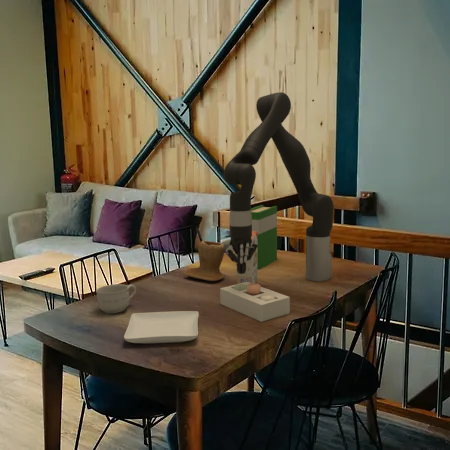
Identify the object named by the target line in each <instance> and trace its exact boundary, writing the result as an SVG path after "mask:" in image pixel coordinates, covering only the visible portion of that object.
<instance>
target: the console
mask: <svg viewBox="0 0 450 450" xmlns="http://www.w3.org/2000/svg"><path fill="white" fill-rule="evenodd" d="M240 284H245V285H248V284H252V283H249V282H244V283H240ZM235 285H237V283H236V284H233V285H227V286H223V287H220V288H219V303H220V305H223V306H225V307H226V308H229V309H231V310H234V311H236V312H238V313H240V314H243V315H244V316H248V317H250V318H252V319H253V320H256V321H259V322H261V323H262V322H265V321H269V320H272V319H275V318H278V317H282V316H286V315H288V314H291V297H290V296H288V295H285V294H283V293H279V292H276V291H275V290H272V289H268V288H265V287H263V286H261V285H260V287H261V293H260V294H259V295H249V294H247V289H246V290H242V291H238V290H236V289H235V288H234V286H235ZM263 294H272V295H274V300H271V301H264V300H261V295H263Z"/></svg>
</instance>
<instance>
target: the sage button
mask: <svg viewBox="0 0 450 450" xmlns="http://www.w3.org/2000/svg"><path fill="white" fill-rule="evenodd" d="M236 284H237V283H236ZM236 284H234V285H235V286H234V288H235V289H236V290H238V291H242V290H246V289H247V285H245V284H237V285H236Z"/></svg>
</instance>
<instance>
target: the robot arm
mask: <svg viewBox="0 0 450 450" xmlns="http://www.w3.org/2000/svg"><path fill="white" fill-rule="evenodd" d="M255 106H256V113H257V114H258V117H259V120H260V121H261V123H260V124H259V125H258V126H257V127H256V128H255V129H254V130H253V131H252V132H251V133H250V134H249V135H248V136H247V137H246V139H245V140H244V143H243V145H242V147H241V148H240V150H239V151H238V152H237V153H236V154H235V155H234V156H233V157H232V158H231V160H230V161H228V163H227V164H226V166H225V168H224V170H223V178H224V181H225V182H226V183H227V184H229V185H236V186H237V185H238V186H240V189H239V190H238V191H233V192H231V193H230V195H229V215H228V216H229V218H228V221H229V237H230V241H229V246H228V247H226V248H225V250H224V251H225V252H224V254H226V255H227V256H228V258H229V259H230V260H231V262H234V263H236V273H237V272H238V273H240V274H244V273H245V271H246V262H247V261H248V260H250V259H251V258H252V256H253V254H254V252H255V250H256V248H257V244H254V243H253V242H252V239H251V237H252V214H251V209H252V203H251V202H252V195H253V190H254V186H255V182H256V177H257V172H256V169H255V167H254V165H257V163H258V162H259V160H260V159H261V156H262V155H263V154H264V151H265V149H266V147H267V145H268V144H269V142H270V140H271V139H272V141H273V144H274V146H275V148H276V149H277V151H278V154H279V156H280V158H281V160H282V163H283V165H284V167H285V169H286V171H287V173H288V175H289V177H290V180H291V182H292V183H293V186H294V188H295V190H296V193H297V196H298V197H297V198H298V199H299V202H300V206H301V208H302V210H303V212H304V214H306V215H307V216H309V217H312V224H311V225H309V226H307V227H306V230H305V279H306V280H308V281H311V282H325V281H329V280H330V279H331V278H332V265H333V264H332V261H333V260H332V257H333V256H332V253H331V231H332V229H333V226H334V214H335V213H334V212H335V210H334V209H335V208H334V207H335V205H334V202H333V199H332V198H331V197H330V196H329V195H327V194H323V193H318V191H317V189H316V188H315V186H314V183H313V182H312V178H311V166H312V165H311V160H310V157H309V156H308V153H307V150H306V148H305V146H304V145H303V144H302V142H301V141H300V140H298V139H297V138H296V137H295V136H293V134H291V133H290V132H289V131H288V130H287V129H286V128H285V127H284V126H283V122H284V121H285V120H286V118H287V117H288V116H289V115H290V112H291V110H292V103H291V99H290V97H289V95H287V93H286V92H282V91H281V92H280V91H279V92H275V93H270V94H267V95H263V96H260V97H259V98H258V99H257V101H256V105H255ZM248 255H249V256H248Z"/></svg>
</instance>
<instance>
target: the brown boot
mask: <svg viewBox="0 0 450 450" xmlns="http://www.w3.org/2000/svg"><path fill="white" fill-rule="evenodd" d="M198 244H199V245H198V250H197V251H198V259H199V260H198V261H199V266H198V267H190V268H188V269H186V270H185V271H184V272H183V275H185V276H187V277H191V278H195V279H198V280H204V281H208V282H217V281H221V280H223V279H224V278H225V274H223V273H222V272H221V270H220V268H221V265H222V262H223V259H224V255H225V251H224V250H225V249H226V248H225V245H224V243H221V242H218V241H211V240H202V241H200V243H198Z"/></svg>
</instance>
